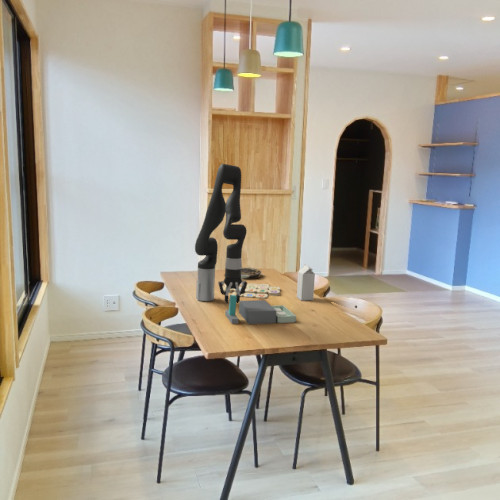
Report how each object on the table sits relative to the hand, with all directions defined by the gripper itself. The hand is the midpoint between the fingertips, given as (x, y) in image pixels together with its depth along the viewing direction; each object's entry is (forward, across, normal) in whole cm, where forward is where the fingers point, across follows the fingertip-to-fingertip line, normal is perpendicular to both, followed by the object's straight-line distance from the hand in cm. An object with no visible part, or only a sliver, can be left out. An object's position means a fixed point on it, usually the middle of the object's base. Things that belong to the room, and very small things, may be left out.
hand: (231, 302), depth 230 cm
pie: (+9, -30, -89) cm, 94 cm away
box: (+8, -24, 0) cm, 26 cm away
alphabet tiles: (+9, -24, -51) cm, 57 cm away
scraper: (+8, 0, +1) cm, 8 cm away
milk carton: (+8, -49, -30) cm, 58 cm away
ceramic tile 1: (+5, -24, +3) cm, 25 cm away
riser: (+8, -12, 0) cm, 15 cm away
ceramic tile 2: (+5, -23, -3) cm, 24 cm away
